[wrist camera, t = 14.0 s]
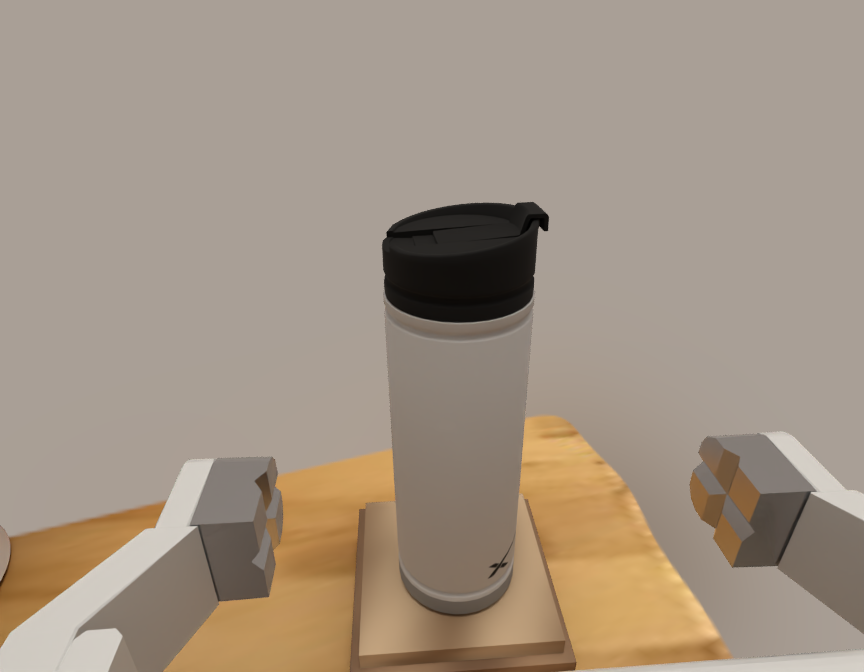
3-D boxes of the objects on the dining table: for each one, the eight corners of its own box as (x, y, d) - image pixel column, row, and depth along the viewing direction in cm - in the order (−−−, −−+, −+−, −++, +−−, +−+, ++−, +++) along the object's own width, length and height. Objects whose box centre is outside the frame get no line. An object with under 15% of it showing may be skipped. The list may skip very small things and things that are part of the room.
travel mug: (532, 608, 29) (573, 231, 20) (404, 624, 28) (383, 241, 19) (504, 517, 35) (524, 188, 25) (395, 529, 34) (375, 194, 25)
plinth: (354, 715, 29) (347, 666, 27) (362, 542, 38) (358, 497, 36) (570, 697, 29) (578, 649, 27) (524, 531, 39) (528, 487, 37)
